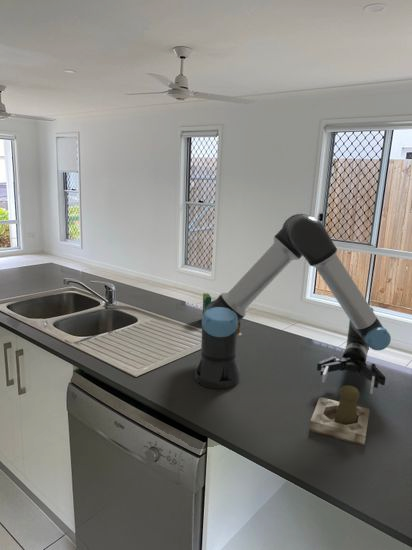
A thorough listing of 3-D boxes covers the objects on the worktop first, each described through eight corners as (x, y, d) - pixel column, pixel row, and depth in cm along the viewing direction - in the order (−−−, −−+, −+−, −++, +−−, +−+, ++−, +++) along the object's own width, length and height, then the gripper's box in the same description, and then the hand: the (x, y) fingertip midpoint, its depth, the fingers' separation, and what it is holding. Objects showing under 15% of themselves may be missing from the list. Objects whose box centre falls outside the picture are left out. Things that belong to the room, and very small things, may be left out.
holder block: (309, 430, 108) (310, 420, 108) (318, 405, 121) (319, 396, 120) (364, 446, 103) (365, 435, 102) (368, 418, 115) (369, 409, 114)
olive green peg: (358, 431, 108) (363, 394, 105) (335, 428, 109) (339, 391, 106) (355, 419, 113) (359, 384, 111) (333, 416, 115) (337, 381, 112)
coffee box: (201, 318, 195) (202, 292, 192) (207, 318, 195) (208, 292, 192) (204, 324, 187) (205, 297, 184) (210, 324, 188) (211, 297, 185)
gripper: (392, 375, 132) (391, 406, 114) (316, 359, 143) (303, 385, 124) (396, 354, 131) (395, 382, 112) (318, 340, 141) (305, 363, 122)
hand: (346, 384), depth 118 cm, fingers open, 13 cm apart
